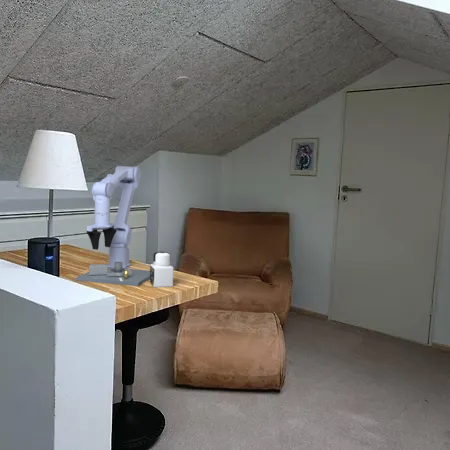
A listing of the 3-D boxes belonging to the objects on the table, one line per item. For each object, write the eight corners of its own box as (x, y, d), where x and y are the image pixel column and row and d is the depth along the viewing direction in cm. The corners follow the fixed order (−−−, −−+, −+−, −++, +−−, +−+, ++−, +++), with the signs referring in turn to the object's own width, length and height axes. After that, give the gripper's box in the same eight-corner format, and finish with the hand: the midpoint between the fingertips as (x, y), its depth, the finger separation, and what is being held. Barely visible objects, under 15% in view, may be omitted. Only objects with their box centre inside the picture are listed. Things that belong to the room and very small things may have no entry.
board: (101, 269, 185) (101, 255, 184) (156, 274, 180) (157, 260, 180) (76, 280, 165) (76, 265, 164) (137, 286, 161) (138, 270, 160)
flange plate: (129, 270, 178) (129, 261, 178) (132, 275, 170) (132, 266, 169) (88, 271, 173) (88, 262, 173) (89, 277, 165) (89, 267, 164)
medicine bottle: (149, 282, 166) (150, 250, 165) (168, 281, 169) (169, 250, 167) (153, 287, 160) (154, 254, 158) (173, 286, 162) (174, 253, 161)
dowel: (125, 278, 167) (125, 270, 167) (129, 278, 167) (129, 270, 166) (123, 278, 165) (123, 270, 165) (127, 279, 165) (127, 271, 165)
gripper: (97, 215, 165) (96, 251, 167) (122, 213, 178) (121, 247, 180) (82, 213, 168) (82, 249, 170) (108, 211, 181) (107, 245, 183)
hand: (101, 248), depth 175 cm, fingers open, 6 cm apart
